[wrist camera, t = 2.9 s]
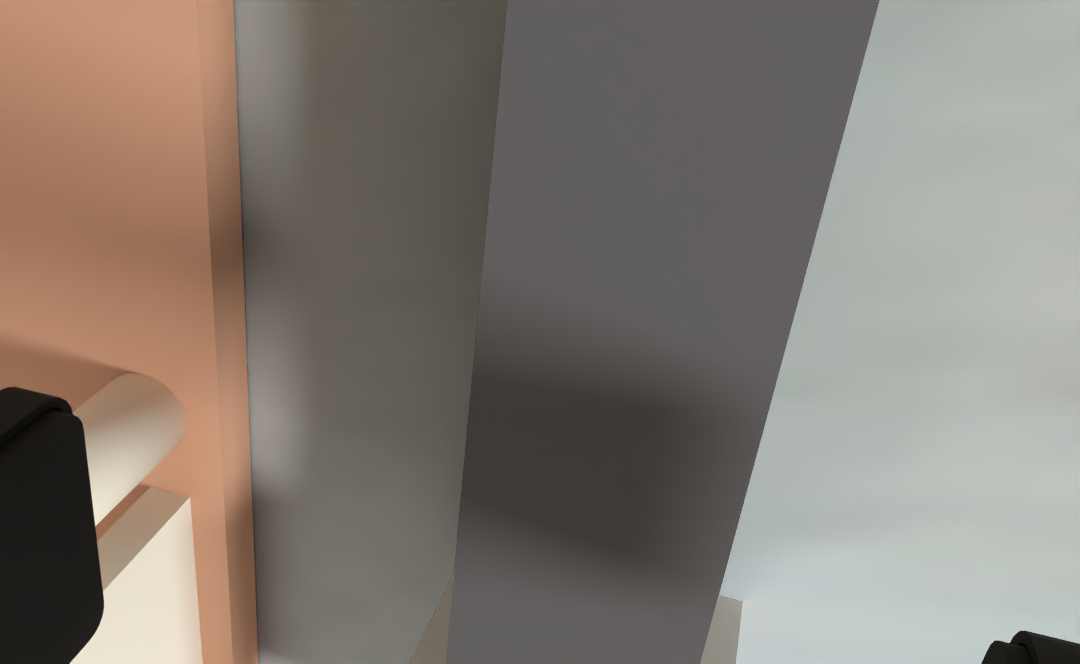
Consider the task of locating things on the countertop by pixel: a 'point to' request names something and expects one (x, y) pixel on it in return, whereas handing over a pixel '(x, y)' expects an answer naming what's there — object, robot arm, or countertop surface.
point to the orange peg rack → (136, 302)
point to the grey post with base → (636, 316)
